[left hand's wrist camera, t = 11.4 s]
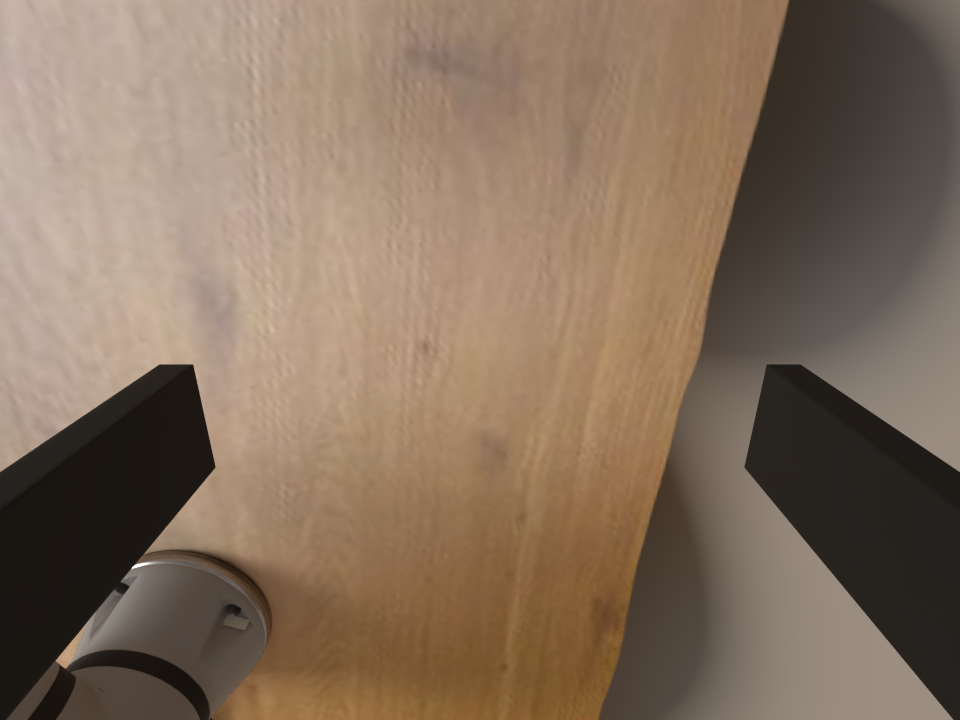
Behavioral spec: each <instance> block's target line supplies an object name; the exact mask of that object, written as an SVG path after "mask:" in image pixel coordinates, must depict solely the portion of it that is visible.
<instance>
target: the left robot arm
mask: <svg viewBox="0 0 960 720" xmlns="http://www.w3.org/2000/svg"><path fill="white" fill-rule="evenodd" d="M214 469H215V463H214V458H213V453H212V449H211V444H210V440H209V435H208V431H207V426H206V421H205V417H204V412H203V408H202V403H201V398H200V394H199V389H198V385H197V380H196V376H195V371H194V366H193V365H158V366H157V367H155V368H154V369H152V370H151V371H149V372H148V373H146V374H145V375H143V376H142V377H140V378H139V379H138V380H136V381H135V382H133V383H132V384H130V385H129V386H127V387H126V388H124V389H123V390H121V391H120V392H118V393H117V394H115V395H114V396H112V397H111V398H109V399H108V400H106V401H105V402H103V403H102V404H100V405H99V406H98V407H96V408H95V409H93V410H92V411H90V412H89V413H87V414H86V415H84V416H83V417H81V418H80V419H78V420H77V421H75V422H74V423H72V424H71V425H69V426H68V427H66V428H65V429H63V430H62V431H61V432H59V433H58V434H56V435H55V436H53V437H52V438H50V439H49V440H47V441H46V442H44V443H43V444H41V445H40V446H38V447H37V448H35V449H34V450H32V451H31V452H29V453H28V454H26V455H25V456H24V457H22V458H21V459H19V460H18V461H16V462H15V463H13V464H12V465H10V466H9V467H7V468H6V469H4V470H3V471H1V472H0V720H212V718H211V716H212V715H213V714H214V713H215V712H216V711H217V710H218V708H219V707H220V706H221V705H222V704H223V703H224V702H225V700H226V699H227V698H228V697H229V696H230V695H231V694H232V692H233V691H234V690H235V689H236V688H237V687H238V686H239V684H240V683H241V682H242V681H243V680H244V679H245V678H246V676H247V675H248V674H249V673H250V672H251V671H252V669H253V668H254V667H255V665H256V664H257V662H258V661H259V660H260V658H261V656H262V654H263V652H264V649H265V647H266V645H267V642H268V640H269V637H270V634H271V628H272V619H271V613H270V610H269V607H268V604H267V602H266V600H265V598H264V597H263V595H262V594H261V592H260V591H259V589H258V588H257V587H256V586H255V585H254V584H253V583H252V582H251V581H250V580H249V579H248V578H247V577H246V576H244V575H243V574H242V573H240V572H239V571H237V570H236V569H234V568H233V567H231V566H229V565H228V564H225V563H223V562H221V561H219V560H217V559H214V558H211V557H208V556H205V555H201V554H197V553H192V552H186V551H159V552H153V553H149V554H145V555H143V554H144V553H145V552H146V551H147V549H148V548H149V547H150V546H151V545H152V543H153V542H154V541H155V540H156V539H157V537H158V536H159V535H160V534H161V533H162V531H163V530H164V529H165V528H166V527H167V525H168V524H169V523H170V522H171V520H172V519H173V518H174V517H175V516H176V514H177V513H178V512H179V511H180V510H181V508H182V507H183V506H184V505H185V504H186V502H187V501H188V500H189V499H190V498H191V496H192V495H193V494H194V493H195V492H196V490H197V489H198V488H199V487H200V485H201V484H202V483H203V482H204V481H205V479H206V478H207V477H208V476H209V475H210V473H211V472H212V471H213V470H214ZM745 469H746V470H747V471H748V472H749V473H750V474H751V476H752V477H753V478H754V479H755V481H756V482H757V483H758V484H759V485H760V487H761V488H762V489H763V490H764V491H765V493H766V494H767V495H768V496H769V498H770V499H771V500H772V501H773V502H774V504H775V505H776V506H777V507H778V508H779V510H780V511H781V512H782V513H783V514H784V516H785V517H786V518H787V519H788V520H789V522H790V523H791V524H792V525H793V527H794V528H795V529H796V530H797V531H798V533H799V534H800V535H801V536H802V537H803V539H804V540H805V541H806V542H807V543H808V545H809V546H810V547H811V548H812V549H813V551H814V552H815V553H816V554H817V555H818V557H819V558H820V559H821V560H822V562H823V563H824V564H825V565H826V566H827V568H828V569H829V570H830V571H831V572H832V574H833V575H834V576H835V577H836V578H837V580H838V581H839V582H840V583H841V584H842V586H843V587H844V588H845V589H846V590H847V592H848V593H849V594H850V595H851V597H852V598H853V599H854V600H855V601H856V602H857V604H858V605H859V606H860V607H861V609H862V610H863V611H864V612H865V613H866V615H867V616H868V617H869V618H870V619H871V621H872V622H873V623H874V624H875V625H876V627H877V628H878V629H879V630H880V631H881V633H882V634H883V635H884V636H885V638H886V639H887V640H888V641H889V642H890V644H891V645H892V646H893V647H894V648H895V650H896V651H897V652H898V653H899V654H900V656H901V657H902V658H903V659H904V660H905V662H906V663H907V664H908V665H909V666H910V668H911V669H912V670H913V671H914V673H915V674H916V675H917V676H918V677H919V679H920V680H921V681H922V682H923V683H924V684H925V686H926V687H927V688H928V689H929V691H930V692H931V693H932V694H933V695H934V697H935V698H936V699H937V700H938V702H939V703H940V704H941V705H942V706H943V708H944V709H945V710H946V711H947V712H948V714H949V715H950V716H951V717H952V718H953V720H960V472H959V471H957V470H956V469H954V468H953V467H951V466H950V465H948V464H947V463H945V462H944V461H942V460H941V459H939V458H938V457H936V456H935V455H933V454H932V453H931V452H929V451H928V450H926V449H925V448H923V447H922V446H920V445H919V444H917V443H916V442H914V441H913V440H911V439H910V438H908V437H907V436H905V435H904V434H902V433H901V432H899V431H898V430H896V429H895V428H894V427H892V426H891V425H889V424H888V423H886V422H885V421H883V420H882V419H880V418H879V417H877V416H876V415H874V414H873V413H871V412H870V411H868V410H867V409H865V408H864V407H862V406H861V405H859V404H858V403H857V402H855V401H854V400H852V399H851V398H849V397H848V396H846V395H845V394H843V393H842V392H840V391H839V390H837V389H836V388H834V387H833V386H831V385H830V384H828V383H827V382H825V381H824V380H822V379H821V378H820V377H818V376H817V375H815V374H814V373H812V372H811V371H809V370H808V369H806V368H805V367H803V366H802V365H767V366H766V371H765V376H764V380H763V385H762V389H761V394H760V398H759V403H758V408H757V412H756V417H755V421H754V426H753V431H752V435H751V440H750V444H749V449H748V453H747V458H746V463H745ZM85 624H86V626H85V629H84V631H83V634H82V636H81V639H80V641H79V644H78V646H77V649H76V651H75V654H74V657H73V659H72V661H71V663H70V664H69V665H68V667H67V668H66V669H65V668H63V667H62V666H61V665H60V664H58V663H57V662H56V661H55V660H56V659H57V658H58V657H59V656H60V654H61V653H62V652H63V651H64V650H65V648H66V647H67V646H68V645H69V644H70V642H71V641H72V640H73V639H74V638H75V636H76V635H77V634H78V633H79V632H80V630H81V629H82V628H83V627H84V625H85Z"/></svg>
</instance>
